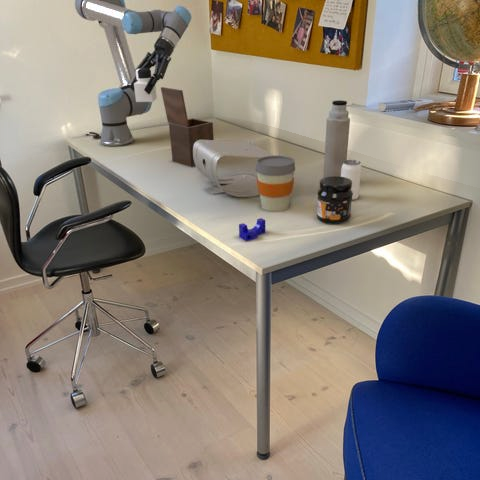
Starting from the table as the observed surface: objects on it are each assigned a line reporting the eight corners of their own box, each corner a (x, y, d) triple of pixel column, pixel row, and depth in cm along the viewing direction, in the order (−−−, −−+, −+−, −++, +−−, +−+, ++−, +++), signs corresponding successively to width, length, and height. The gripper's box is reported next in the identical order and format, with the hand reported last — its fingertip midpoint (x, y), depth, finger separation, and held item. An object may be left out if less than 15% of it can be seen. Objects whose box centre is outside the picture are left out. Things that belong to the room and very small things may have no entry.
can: (354, 202, 173) (357, 166, 167) (336, 198, 176) (338, 163, 170) (361, 196, 178) (364, 161, 171) (343, 193, 181) (346, 158, 174)
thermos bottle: (325, 178, 196) (330, 98, 181) (346, 179, 193) (353, 99, 178) (321, 184, 189) (325, 102, 174) (342, 186, 187) (349, 103, 172)
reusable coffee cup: (266, 215, 165) (266, 168, 157) (250, 203, 175) (249, 158, 167) (300, 209, 169) (302, 163, 161) (283, 197, 179) (283, 153, 171)
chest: (195, 154, 228) (192, 118, 220) (214, 160, 220) (212, 122, 212) (172, 161, 221) (168, 123, 213) (191, 166, 213) (188, 127, 205)
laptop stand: (194, 182, 196) (191, 140, 187) (251, 173, 203) (250, 132, 195) (218, 203, 176) (216, 157, 168) (280, 192, 183) (281, 147, 175)
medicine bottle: (157, 98, 217) (153, 67, 211) (152, 102, 211) (149, 69, 205) (140, 98, 218) (136, 67, 212) (135, 102, 212) (131, 69, 206)
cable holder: (246, 241, 149) (245, 228, 147) (239, 237, 151) (238, 224, 149) (268, 234, 153) (268, 221, 150) (261, 230, 155) (261, 218, 153)
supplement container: (310, 221, 160) (312, 183, 153) (324, 210, 167) (326, 173, 161) (342, 227, 155) (346, 188, 149) (355, 216, 163) (359, 178, 156)
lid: (162, 87, 204) (160, 87, 204) (182, 90, 196) (180, 90, 196) (169, 122, 213) (167, 122, 212) (189, 126, 205) (187, 127, 204)
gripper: (189, 51, 207) (161, 100, 207) (156, 48, 221) (130, 93, 221) (177, 37, 201) (149, 87, 201) (144, 35, 215) (117, 81, 215)
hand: (139, 90), depth 211 cm, fingers closed on medicine bottle, 10 cm apart
